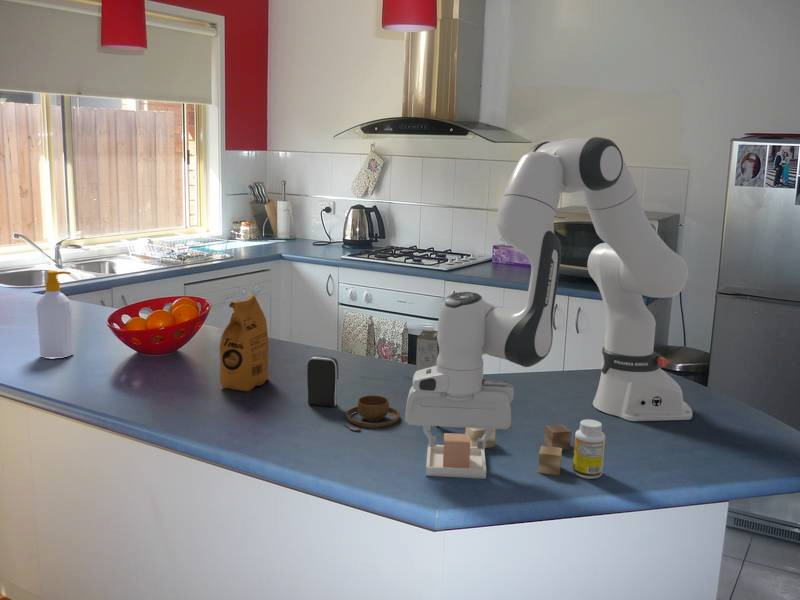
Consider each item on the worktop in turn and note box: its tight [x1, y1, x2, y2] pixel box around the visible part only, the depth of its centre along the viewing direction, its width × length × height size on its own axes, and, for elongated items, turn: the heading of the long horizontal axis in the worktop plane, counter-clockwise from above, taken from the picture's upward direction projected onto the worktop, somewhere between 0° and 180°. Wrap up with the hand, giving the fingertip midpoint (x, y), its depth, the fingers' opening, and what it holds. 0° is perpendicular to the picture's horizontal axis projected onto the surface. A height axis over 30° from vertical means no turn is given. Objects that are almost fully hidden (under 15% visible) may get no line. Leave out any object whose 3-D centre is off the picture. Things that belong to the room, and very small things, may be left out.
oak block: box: [537, 445, 563, 476], centre depth 148 cm, size 4×4×4 cm
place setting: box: [345, 395, 401, 432], centre depth 170 cm, size 18×20×6 cm
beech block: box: [464, 428, 497, 449], centre depth 160 cm, size 5×4×4 cm
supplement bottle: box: [572, 419, 606, 480], centre depth 146 cm, size 6×6×10 cm
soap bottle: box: [36, 270, 75, 357], centre depth 213 cm, size 9×9×24 cm
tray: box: [425, 444, 487, 480], centre depth 150 cm, size 11×11×2 cm
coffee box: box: [415, 329, 439, 372], centre depth 186 cm, size 9×6×16 cm
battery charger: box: [306, 355, 339, 408], centre depth 181 cm, size 7×4×11 cm, turn 75°
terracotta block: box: [443, 432, 470, 468], centre depth 149 cm, size 5×5×5 cm
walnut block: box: [544, 424, 572, 451], centre depth 160 cm, size 4×4×4 cm
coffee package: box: [219, 294, 269, 392], centre depth 193 cm, size 10×12×22 cm
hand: (456, 447), depth 149 cm, fingers open, 8 cm apart
